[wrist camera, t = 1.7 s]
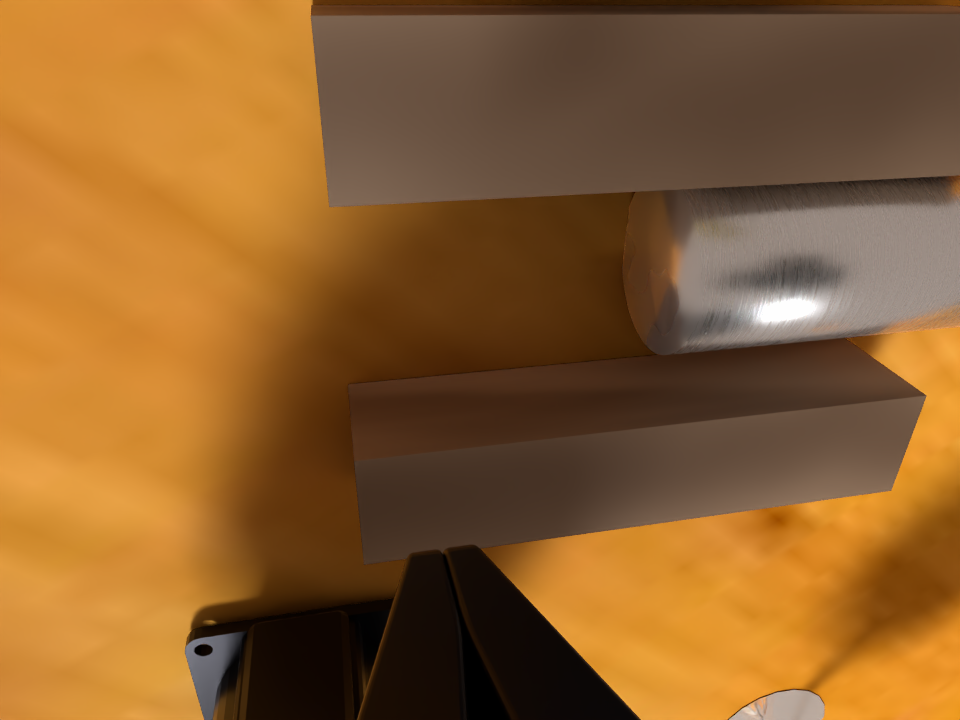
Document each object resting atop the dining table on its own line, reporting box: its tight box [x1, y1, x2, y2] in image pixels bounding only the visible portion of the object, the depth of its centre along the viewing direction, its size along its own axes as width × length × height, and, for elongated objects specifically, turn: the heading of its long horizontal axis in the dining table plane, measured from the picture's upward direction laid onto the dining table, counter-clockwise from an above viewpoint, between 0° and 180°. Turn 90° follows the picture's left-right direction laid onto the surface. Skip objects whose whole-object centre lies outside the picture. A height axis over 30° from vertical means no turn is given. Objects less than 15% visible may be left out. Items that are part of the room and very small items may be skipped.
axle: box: [622, 175, 960, 355], centre depth 17 cm, size 10×4×4 cm, turn 90°
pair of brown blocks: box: [311, 5, 960, 565], centre depth 16 cm, size 12×14×3 cm
